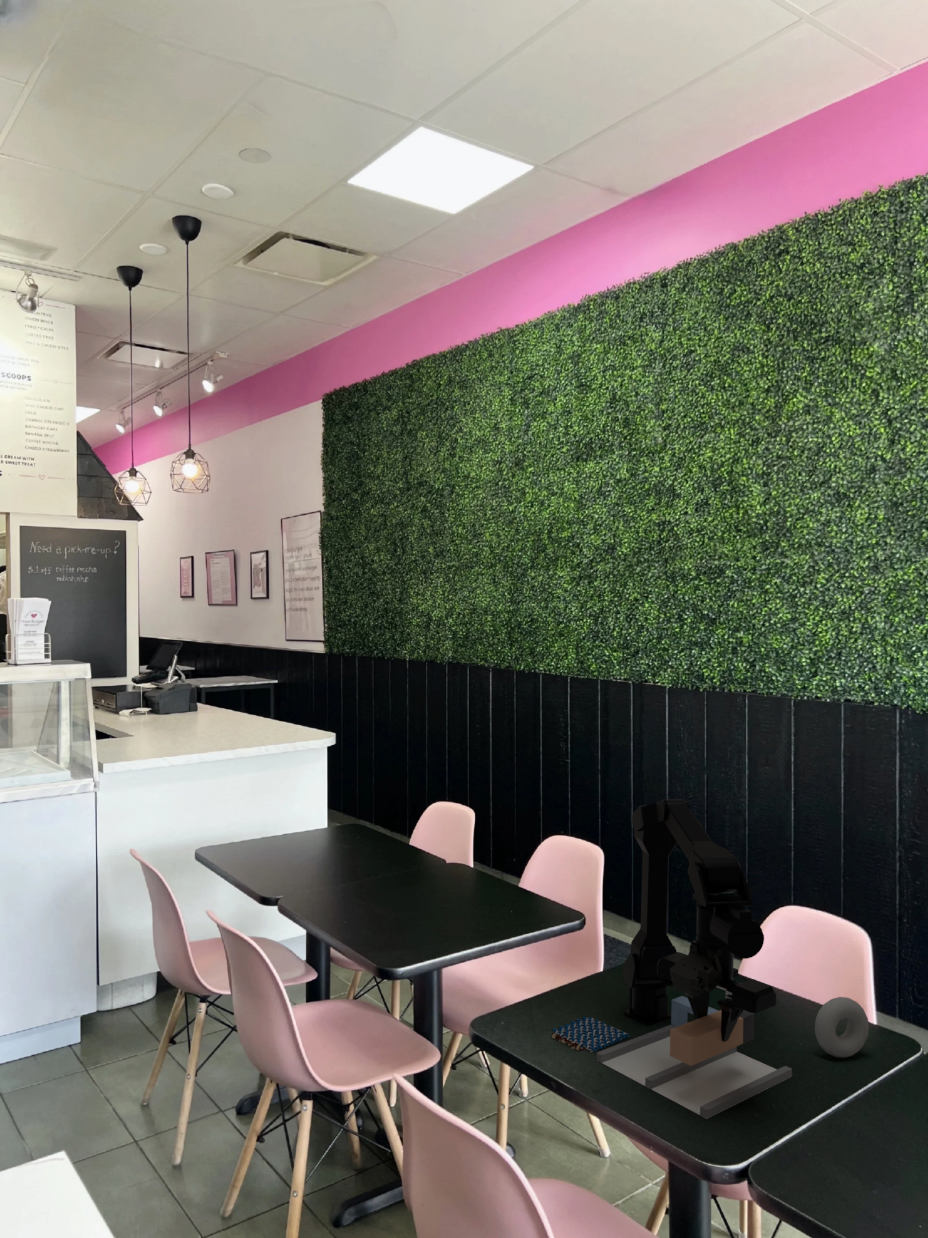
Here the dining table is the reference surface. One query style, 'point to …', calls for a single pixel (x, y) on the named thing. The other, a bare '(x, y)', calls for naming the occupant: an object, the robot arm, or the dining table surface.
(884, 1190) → the dining table surface
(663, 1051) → the grey tray
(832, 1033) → the donut
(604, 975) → the dining table surface
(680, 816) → the robot arm
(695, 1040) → the two-tone brown block
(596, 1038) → the woven mat
